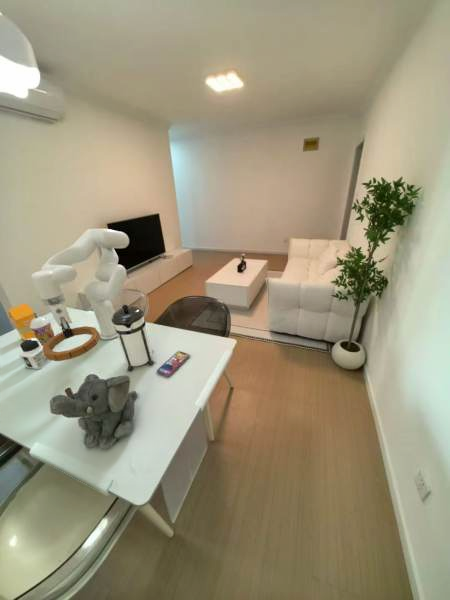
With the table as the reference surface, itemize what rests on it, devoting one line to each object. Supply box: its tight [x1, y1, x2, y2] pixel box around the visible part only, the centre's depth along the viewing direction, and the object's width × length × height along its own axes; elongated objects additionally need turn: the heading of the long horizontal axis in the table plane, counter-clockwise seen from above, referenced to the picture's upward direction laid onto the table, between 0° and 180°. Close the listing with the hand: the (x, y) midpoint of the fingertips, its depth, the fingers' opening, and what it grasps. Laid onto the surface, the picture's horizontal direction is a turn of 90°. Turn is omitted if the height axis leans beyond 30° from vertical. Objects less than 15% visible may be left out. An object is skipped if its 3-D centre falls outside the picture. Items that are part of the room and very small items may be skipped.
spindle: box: [64, 387, 77, 399], centre depth 88 cm, size 4×4×6 cm
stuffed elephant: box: [49, 373, 138, 449], centre depth 72 cm, size 19×21×27 cm
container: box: [18, 338, 51, 370], centre depth 108 cm, size 8×8×13 cm
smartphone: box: [157, 350, 190, 377], centre depth 104 cm, size 1×7×15 cm
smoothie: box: [30, 312, 56, 346], centre depth 119 cm, size 8×8×20 cm
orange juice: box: [7, 302, 37, 341], centre depth 128 cm, size 8×9×20 cm
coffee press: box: [111, 304, 155, 372], centre depth 102 cm, size 17×16×30 cm
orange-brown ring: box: [43, 325, 101, 362], centre depth 97 cm, size 20×20×3 cm
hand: (69, 335), depth 104 cm, fingers closed on orange-brown ring, 2 cm apart
